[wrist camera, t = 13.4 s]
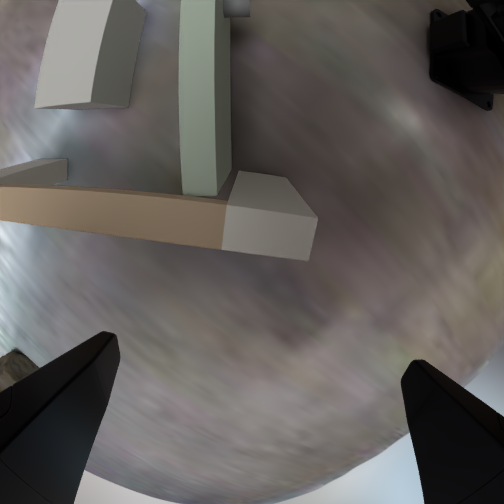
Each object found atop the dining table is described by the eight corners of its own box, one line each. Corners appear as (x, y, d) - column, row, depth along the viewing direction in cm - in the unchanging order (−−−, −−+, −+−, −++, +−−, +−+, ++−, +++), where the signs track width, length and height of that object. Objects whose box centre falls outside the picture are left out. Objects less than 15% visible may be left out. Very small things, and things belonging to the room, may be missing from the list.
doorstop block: (147, 13, 13) (118, -17, 8) (128, 107, 16) (90, 102, 11) (96, 20, 13) (59, -2, 8) (79, 109, 15) (34, 108, 11)
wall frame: (285, 177, 17) (318, 218, 9) (281, 200, 18) (308, 261, 10) (39, 159, 16) (-50, 186, 8) (39, 178, 17) (-48, 213, 9)
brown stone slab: (-14, 363, 27) (-27, 380, 23) (0, 323, 23) (-19, 343, 19) (64, 432, 32) (55, 451, 28) (100, 414, 28) (90, 439, 24)
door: (251, 169, 17) (252, 195, 10) (211, 170, 17) (182, 196, 10) (250, 14, 13) (249, -54, 6) (210, 16, 13) (185, -49, 6)
